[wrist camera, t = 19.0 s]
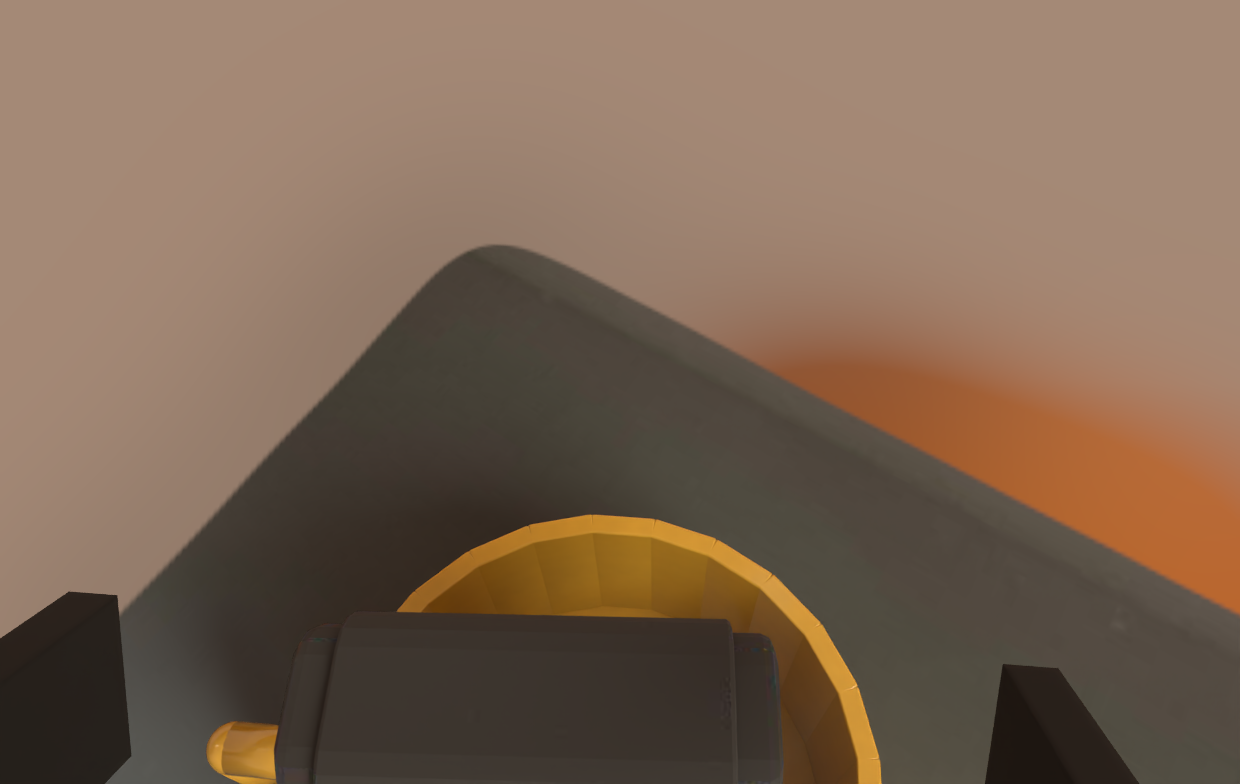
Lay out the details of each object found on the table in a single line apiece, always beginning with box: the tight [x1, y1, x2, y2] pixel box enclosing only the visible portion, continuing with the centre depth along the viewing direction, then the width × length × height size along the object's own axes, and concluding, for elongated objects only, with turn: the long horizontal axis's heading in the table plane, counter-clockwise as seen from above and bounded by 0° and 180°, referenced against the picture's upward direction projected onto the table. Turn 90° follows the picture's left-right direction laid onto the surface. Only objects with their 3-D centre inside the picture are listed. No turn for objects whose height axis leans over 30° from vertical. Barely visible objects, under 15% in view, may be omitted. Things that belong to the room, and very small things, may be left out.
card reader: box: [274, 611, 784, 784], centre depth 23 cm, size 9×4×15 cm, turn 88°
